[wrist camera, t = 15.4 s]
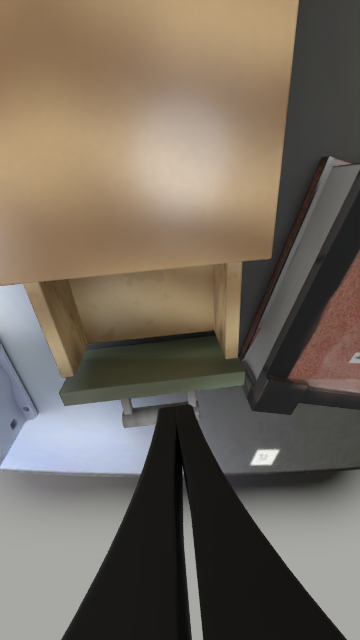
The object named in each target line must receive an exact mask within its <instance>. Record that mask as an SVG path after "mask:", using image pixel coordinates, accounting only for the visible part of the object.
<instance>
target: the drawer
mask: <svg viewBox="0 0 360 640" xmlns="http://www.w3.org/2000/svg"><path fill="white" fill-rule="evenodd" d="M241 281H242V262H234V263H224V264H214V265H204V266H194V267H184V268H174V269H164V270H154V271H144V272H134V273H124V274H114V275H104V276H94V277H84V278H74V279H64V280H54V281H44V282H34V283H24V284H23V285H24V288H25V290H26V292H27V295H28V297H29V300H30V302H31V304H32V307H33V309H34V312H35V314H36V316H37V319H38V321H39V324H40V326H41V328H42V331H43V333H44V336H45V338H46V340H47V343H48V345H49V348H50V350H51V353H52V355H53V357H54V360H55V362H56V365H57V367H58V369H59V372H60V374H61V377H67V378H66V380H65V382H64V384H63V386H62V388H61V390H60V392H59V394H60V397H61V399H62V401H63V403H64V406H69V405H77V404H86V403H95V402H103V401H112V400H120V399H121V403H122V407H123V414H122V421H123V426H124V428H129V427H138V426H146V425H154V424H156V421H157V415H158V410H159V409H160V408H165V407H173V406H180V405H188V404H190V405H192V406H193V409H194V413H195V416H196V419H200V411H199V404H198V401H196V393H195V391H197V390H206V389H215V388H223V387H232V386H240V385H244V380H245V371H244V368H243V366H242V364H241V362H240V360H239V358H238V343H239V322H240V302H241ZM213 330H214V331H215V333H216V336H208V337H199V338H190V339H181V340H172V341H163V342H153V343H144V344H135V345H126V346H117V347H108V348H99V349H90V350H86V349H87V346H88V344H94V343H103V342H112V341H121V340H130V339H140V338H149V337H158V336H167V335H176V334H186V333H195V332H204V331H213ZM180 392H187V396H188V402H181V403H173V404H164V405H156V406H147V407H139V408H133V407H132V403H131V399H130V398H137V397H146V396H155V395H163V394H172V393H180Z"/></svg>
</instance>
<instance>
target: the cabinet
mask: <svg viewBox="0 0 360 640" xmlns="http://www.w3.org/2000/svg"><path fill="white" fill-rule="evenodd" d="M298 5H299V0H0V286H4V285H14V284H24V283H34V282H44V281H54V280H64V279H74V278H84V277H94V276H104V275H114V274H124V273H134V272H144V271H154V270H164V269H174V268H184V267H194V266H204V265H214V264H224V263H234V262H244V261H254V260H264V259H271V258H272V248H273V239H274V230H275V220H276V211H277V201H278V192H279V183H280V173H281V164H282V155H283V145H284V136H285V127H286V117H287V108H288V98H289V89H290V80H291V70H292V61H293V52H294V42H295V33H296V23H297V14H298Z"/></svg>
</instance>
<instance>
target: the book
mask: <svg viewBox="0 0 360 640" xmlns="http://www.w3.org/2000/svg"><path fill="white" fill-rule="evenodd" d="M238 358H239V360H240V362H241V364H242V366H243V368H244V371H245V380H244V385H242V388H243V390H244V392H245V395H246V397H247V400H248V402H249V404H250V407H251V409H252V411H258V412H267V413H277V414H287V415H291V414H292V412H293V411H294V409H295V408H296V406H297V404H298V403H304V404H313V405H322V406H330V407H339V408H348V409H357V410H360V163H356V164H352V163H349V162H346V161H343V160H340V159H337V158H334V157H330V156H328V157H323V158H322V159H321V162H320V164H319V166H318V169H317V171H316V173H315V176H314V178H313V181H312V183H311V185H310V188H309V190H308V192H307V195H306V197H305V200H304V202H303V204H302V207H301V209H300V212H299V214H298V216H297V219H296V221H295V223H294V226H293V228H292V231H291V233H290V235H289V238H288V240H287V243H286V245H285V247H284V250H283V252H282V254H281V257H280V259H279V262H278V264H277V266H276V269H275V271H274V273H273V276H272V278H271V281H270V283H269V285H268V288H267V290H266V293H265V295H264V297H263V300H262V302H261V304H260V307H259V309H258V312H257V314H256V316H255V319H254V321H253V324H252V326H251V328H250V331H249V333H248V335H247V338H246V340H245V343H244V345H243V347H242V350H241V352H240V354H239V357H238Z"/></svg>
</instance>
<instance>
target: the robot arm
mask: <svg viewBox="0 0 360 640" xmlns="http://www.w3.org/2000/svg"><path fill="white" fill-rule="evenodd" d="M37 415H38V413H37V411H36V409H35V407H34V405H33V404H32V402H31V400H30V398H29V396H28V394H27V392H26V390H25V388H24V387H23V385H22V383H21V381H20V379H19V377H18V375H17V373H16V372H15V370H14V368H13V366H12V364H11V362H10V360H9V358H8V356H7V355H6V353H5V351H4V349H3V347H2V345H1V343H0V465H1V464H2V462H3V460H4V458H5V457H6V455H7V453H8V451H9V450H10V448H11V446H12V444H13V442H14V441H15V439H16V437H17V435H18V434H19V432H20V430H21V428H22V427H23V425H24V423H25V421H26V420H33V419H35V418H36V417H37ZM182 466H183V471H184V477H185V482H186V488H187V493H188V499H189V504H190V510H191V518H192V528H193V538H194V548H195V557H196V558H195V559H196V569H197V579H198V588H199V599H200V610H201V620H202V631H203V640H347V639H346V638H345V637H344V636H343V634H342V633H341V632H340V631H339V630H338V628H337V627H336V626H335V625H334V624H333V623H332V621H331V620H330V619H329V618H328V617H327V615H326V614H325V613H324V612H323V611H322V609H321V608H320V607H319V606H318V604H317V603H316V602H315V601H314V599H313V598H312V597H311V596H310V595H309V593H308V592H307V591H306V590H305V589H304V587H303V586H302V585H301V583H300V582H299V581H298V580H297V578H296V577H295V576H294V574H293V573H292V572H291V571H290V569H289V568H288V567H287V566H286V564H285V563H284V561H283V560H282V559H281V557H280V556H279V555H278V553H277V552H276V551H275V549H274V548H273V547H272V545H271V544H270V543H269V541H268V540H267V539H266V537H265V536H264V534H263V533H262V532H261V531H260V529H259V528H258V526H257V525H256V523H255V522H254V520H253V519H252V517H251V516H250V515H249V513H248V512H247V510H246V509H245V507H244V506H243V504H242V503H241V501H240V500H239V498H238V496H237V495H236V493H235V492H234V490H233V489H232V487H231V485H230V484H229V482H228V480H227V479H226V477H225V475H224V473H223V472H222V470H221V468H220V467H219V465H218V463H217V461H216V459H215V457H214V455H213V454H212V452H211V450H210V448H209V446H208V444H207V442H206V440H205V438H204V435H203V433H202V431H201V429H200V426H199V424H198V421H197V419H196V416H195V413H194V409H193V406H192V405H190V404H188V405H180V406H173V407H165V408H160V409H159V410H158V415H157V421H156V426H155V430H154V434H153V438H152V442H151V445H150V448H149V452H148V455H147V458H146V461H145V464H144V467H143V470H142V473H141V476H140V478H139V481H138V484H137V487H136V489H135V492H134V494H133V497H132V499H131V502H130V504H129V507H128V509H127V512H126V514H125V516H124V518H123V521H122V523H121V525H120V527H119V529H118V532H117V534H116V536H115V538H114V540H113V542H112V544H111V547H110V549H109V551H108V553H107V555H106V557H105V559H104V561H103V563H102V565H101V567H100V569H99V571H98V573H97V575H96V577H95V579H94V580H93V582H92V584H91V586H90V588H89V590H88V592H87V594H86V596H85V598H84V599H83V601H82V603H81V605H80V607H79V609H78V611H77V613H76V615H75V616H74V618H73V620H72V622H71V623H70V625H69V627H68V629H67V631H66V632H65V634H64V636H63V638H62V639H61V640H192V636H191V625H190V613H189V601H188V589H187V578H186V565H185V553H184V536H183V484H182V483H183V481H182V480H183V479H182V478H183V477H182Z"/></svg>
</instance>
